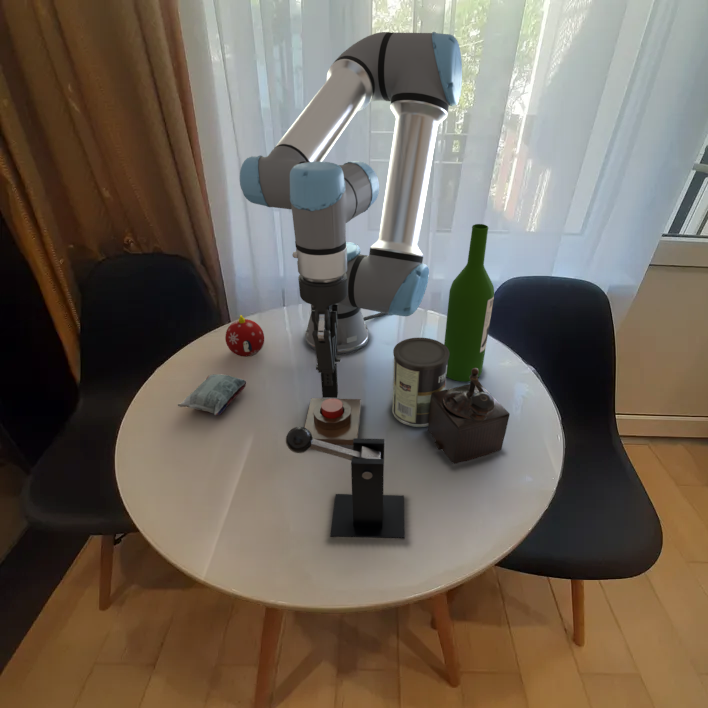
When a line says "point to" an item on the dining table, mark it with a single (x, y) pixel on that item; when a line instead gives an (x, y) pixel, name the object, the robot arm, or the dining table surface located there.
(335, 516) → the bracket
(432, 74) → the robot arm
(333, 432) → the button block
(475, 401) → the brown coffee grinder
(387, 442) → the dining table surface
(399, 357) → the coffee can
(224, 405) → the packaged food
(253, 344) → the christmas ornament
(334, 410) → the button
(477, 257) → the wine bottle
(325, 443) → the lever
